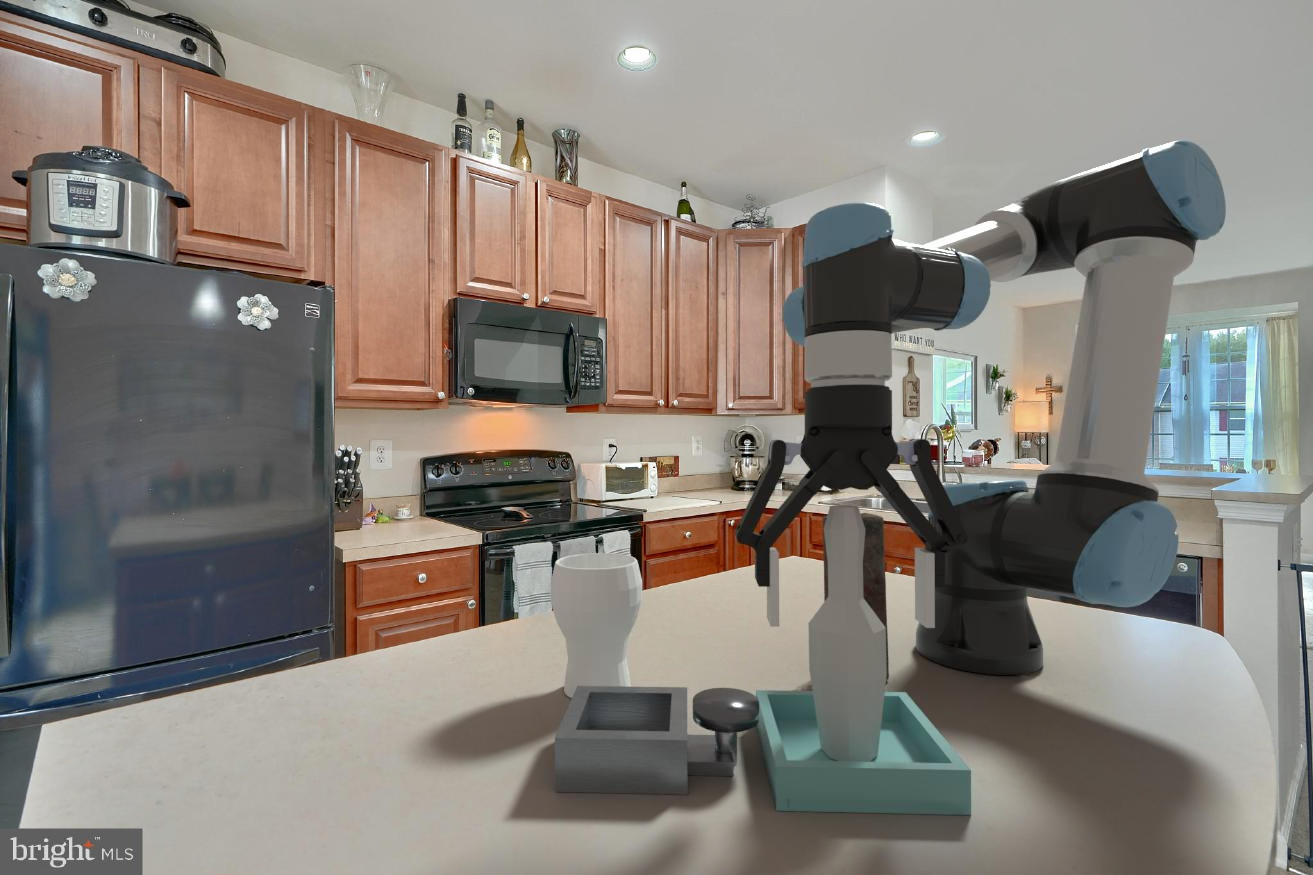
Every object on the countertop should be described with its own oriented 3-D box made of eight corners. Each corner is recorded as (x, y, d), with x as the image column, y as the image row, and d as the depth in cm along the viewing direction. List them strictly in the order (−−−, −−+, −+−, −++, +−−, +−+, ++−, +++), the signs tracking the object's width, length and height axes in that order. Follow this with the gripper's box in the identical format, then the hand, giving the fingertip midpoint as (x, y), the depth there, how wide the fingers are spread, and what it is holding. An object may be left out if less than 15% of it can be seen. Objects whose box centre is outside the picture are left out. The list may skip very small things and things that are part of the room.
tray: (905, 726, 65) (905, 692, 65) (971, 815, 50) (971, 770, 50) (756, 724, 66) (755, 690, 66) (776, 810, 51) (776, 766, 51)
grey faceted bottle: (797, 746, 59) (793, 505, 59) (848, 730, 62) (843, 502, 63) (849, 776, 53) (844, 510, 54) (902, 757, 56) (896, 506, 57)
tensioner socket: (753, 733, 64) (752, 678, 64) (766, 796, 53) (766, 729, 53) (577, 730, 64) (577, 675, 64) (555, 791, 53) (554, 725, 53)
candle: (820, 683, 76) (819, 514, 76) (826, 662, 83) (825, 507, 83) (888, 691, 74) (888, 517, 73) (889, 669, 80) (888, 510, 80)
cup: (630, 712, 69) (629, 571, 69) (537, 704, 71) (535, 568, 71) (651, 675, 79) (650, 553, 79) (569, 669, 81) (568, 550, 81)
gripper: (970, 386, 61) (971, 612, 61) (707, 389, 62) (708, 610, 62) (1010, 380, 53) (1011, 637, 53) (709, 383, 54) (711, 634, 54)
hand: (848, 623), depth 58 cm, fingers open, 13 cm apart
